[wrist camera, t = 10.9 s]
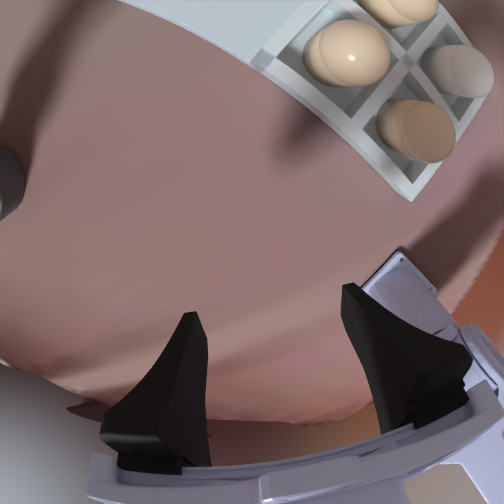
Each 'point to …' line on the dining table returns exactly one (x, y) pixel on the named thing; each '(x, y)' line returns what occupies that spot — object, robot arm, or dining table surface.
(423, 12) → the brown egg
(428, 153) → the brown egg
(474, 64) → the white egg
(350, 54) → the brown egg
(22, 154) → the dining table surface
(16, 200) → the candle holder
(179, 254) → the dining table surface
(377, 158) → the egg carton
